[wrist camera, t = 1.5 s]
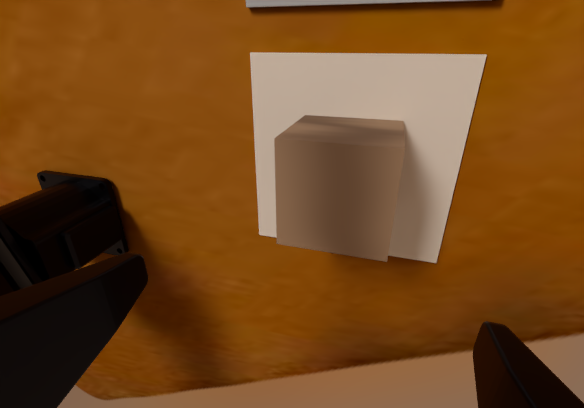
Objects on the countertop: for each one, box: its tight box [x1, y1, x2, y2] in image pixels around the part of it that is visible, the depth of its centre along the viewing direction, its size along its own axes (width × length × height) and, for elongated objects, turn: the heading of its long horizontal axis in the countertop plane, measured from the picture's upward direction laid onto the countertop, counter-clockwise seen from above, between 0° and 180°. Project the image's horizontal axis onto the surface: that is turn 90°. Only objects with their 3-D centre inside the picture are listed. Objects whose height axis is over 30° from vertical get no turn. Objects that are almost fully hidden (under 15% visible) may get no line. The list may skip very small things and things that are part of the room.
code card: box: [250, 52, 487, 263], centre depth 18 cm, size 11×11×1 cm
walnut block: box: [274, 115, 405, 262], centre depth 16 cm, size 5×5×5 cm
